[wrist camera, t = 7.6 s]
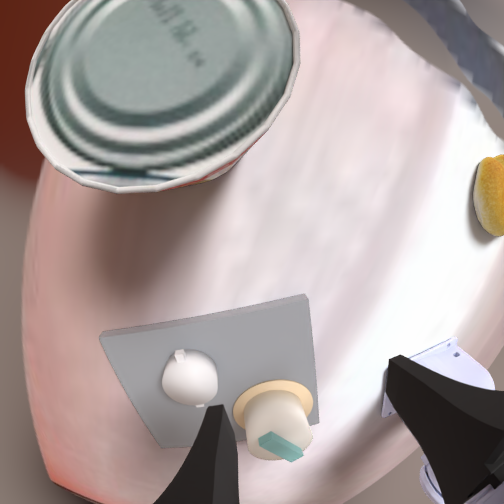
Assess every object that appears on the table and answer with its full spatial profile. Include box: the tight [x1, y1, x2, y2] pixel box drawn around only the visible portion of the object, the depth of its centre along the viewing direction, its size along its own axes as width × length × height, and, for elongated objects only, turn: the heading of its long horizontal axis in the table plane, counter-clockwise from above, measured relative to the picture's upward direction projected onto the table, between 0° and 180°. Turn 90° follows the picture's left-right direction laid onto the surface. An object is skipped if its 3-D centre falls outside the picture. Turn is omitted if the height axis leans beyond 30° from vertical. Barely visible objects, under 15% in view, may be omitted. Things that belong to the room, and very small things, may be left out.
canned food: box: [25, 0, 300, 194], centre depth 11 cm, size 8×8×12 cm
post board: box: [99, 294, 319, 448], centre depth 20 cm, size 16×14×3 cm
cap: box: [244, 390, 313, 462], centre depth 19 cm, size 5×5×5 cm
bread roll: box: [473, 155, 504, 236], centre depth 19 cm, size 8×9×4 cm
